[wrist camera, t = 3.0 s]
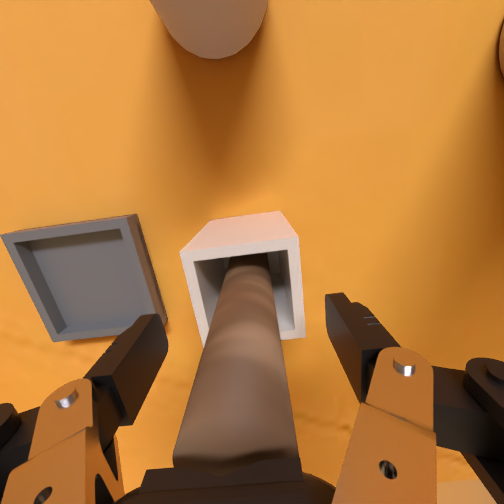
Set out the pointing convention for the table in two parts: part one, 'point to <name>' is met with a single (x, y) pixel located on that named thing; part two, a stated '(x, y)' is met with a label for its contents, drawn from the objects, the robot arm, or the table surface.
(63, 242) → the tray
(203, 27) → the can
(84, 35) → the table surface
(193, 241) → the cup
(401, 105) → the table surface
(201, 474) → the robot arm
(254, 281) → the dowel
